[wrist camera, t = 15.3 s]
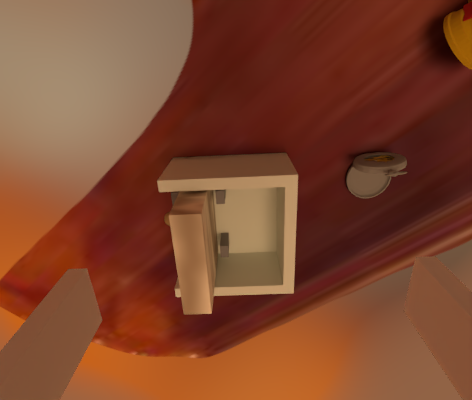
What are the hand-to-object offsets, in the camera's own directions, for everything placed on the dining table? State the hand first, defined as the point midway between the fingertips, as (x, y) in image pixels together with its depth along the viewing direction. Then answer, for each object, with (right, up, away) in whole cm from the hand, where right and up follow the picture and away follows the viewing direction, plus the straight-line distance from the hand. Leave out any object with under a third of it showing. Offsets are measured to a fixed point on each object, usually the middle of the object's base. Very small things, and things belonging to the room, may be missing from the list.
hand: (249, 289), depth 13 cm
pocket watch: (+20, +9, +34) cm, 40 cm away
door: (-6, +1, +36) cm, 36 cm away
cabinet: (-1, +2, +37) cm, 37 cm away
